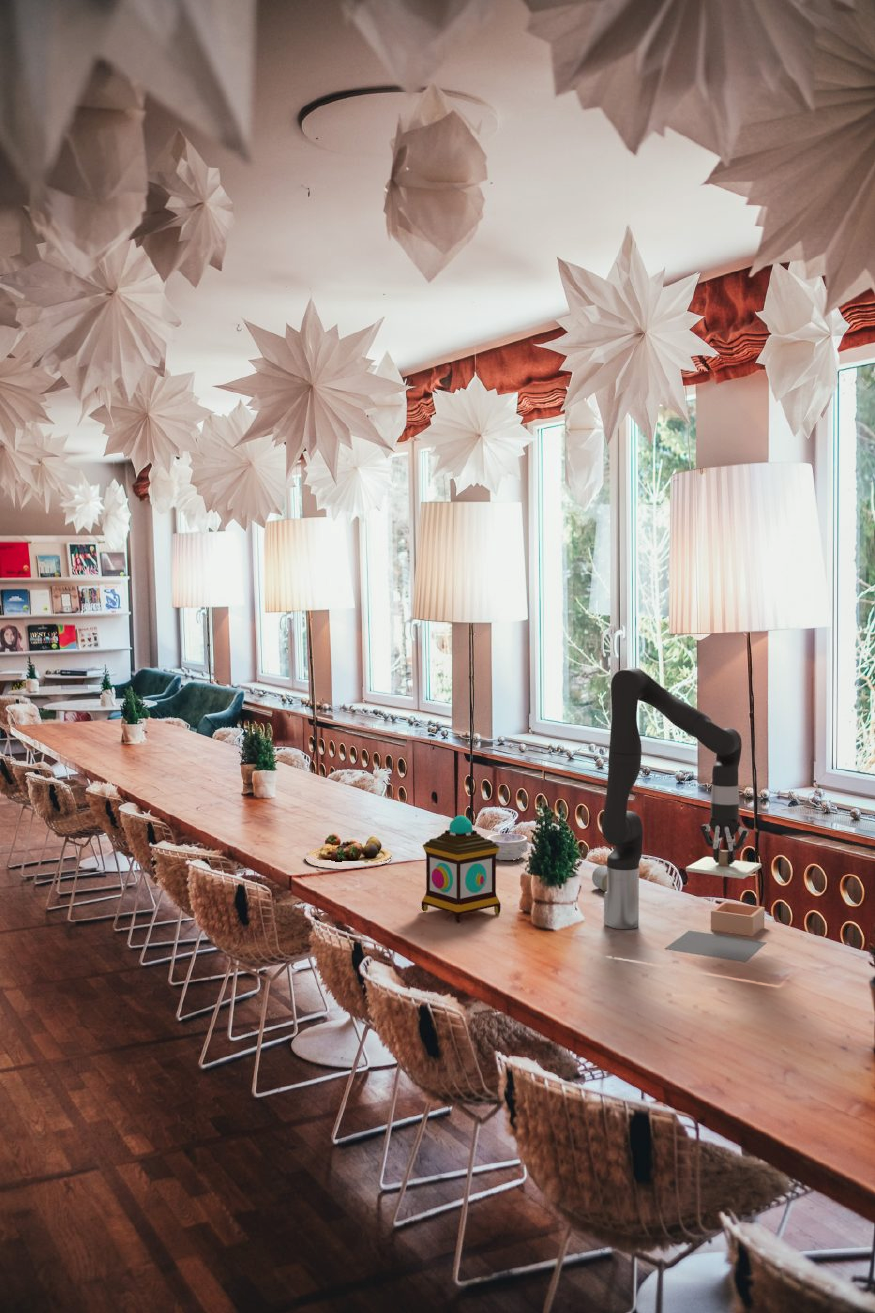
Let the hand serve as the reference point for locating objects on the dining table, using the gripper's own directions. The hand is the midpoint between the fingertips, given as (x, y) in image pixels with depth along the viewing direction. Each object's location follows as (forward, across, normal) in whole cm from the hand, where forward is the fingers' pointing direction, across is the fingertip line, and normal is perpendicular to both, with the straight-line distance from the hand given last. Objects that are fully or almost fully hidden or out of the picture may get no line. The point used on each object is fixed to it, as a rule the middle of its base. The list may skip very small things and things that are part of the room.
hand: (724, 862), depth 311 cm
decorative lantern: (+23, -77, -14) cm, 81 cm away
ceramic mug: (+23, -50, +35) cm, 65 cm away
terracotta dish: (+22, 0, +13) cm, 26 cm away
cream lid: (+2, 0, 0) cm, 2 cm away
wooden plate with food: (+23, -150, +25) cm, 153 cm away
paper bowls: (+23, -101, +58) cm, 119 cm away
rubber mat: (+22, 0, -7) cm, 23 cm away
